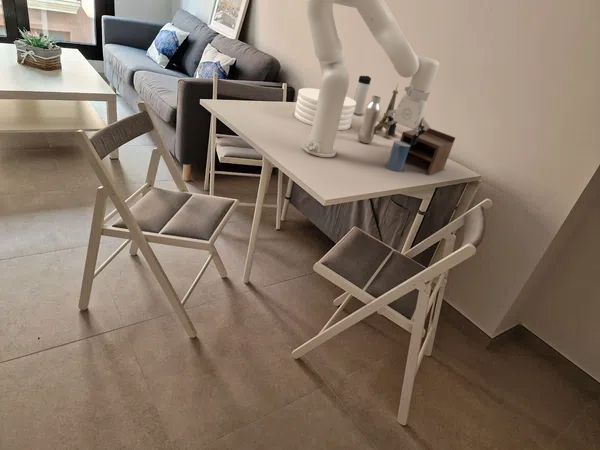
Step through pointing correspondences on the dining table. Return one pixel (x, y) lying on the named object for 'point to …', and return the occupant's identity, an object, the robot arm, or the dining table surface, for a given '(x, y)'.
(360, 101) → the travel mug
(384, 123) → the eiffel tower
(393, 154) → the jug
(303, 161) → the dining table surface
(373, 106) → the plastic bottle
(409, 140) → the shelf stand
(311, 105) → the plate stack
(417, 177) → the dining table surface
